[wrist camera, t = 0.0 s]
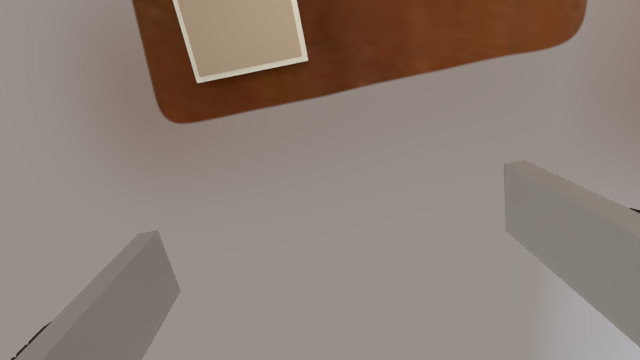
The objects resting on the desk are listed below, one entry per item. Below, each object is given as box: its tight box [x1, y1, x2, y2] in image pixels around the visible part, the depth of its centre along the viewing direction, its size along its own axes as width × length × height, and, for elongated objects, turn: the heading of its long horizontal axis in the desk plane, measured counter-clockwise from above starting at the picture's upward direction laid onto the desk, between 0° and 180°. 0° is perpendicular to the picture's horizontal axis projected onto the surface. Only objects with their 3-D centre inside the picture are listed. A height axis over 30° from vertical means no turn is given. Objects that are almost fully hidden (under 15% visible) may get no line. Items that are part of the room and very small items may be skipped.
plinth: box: [173, 0, 308, 83], centre depth 35 cm, size 11×11×4 cm
